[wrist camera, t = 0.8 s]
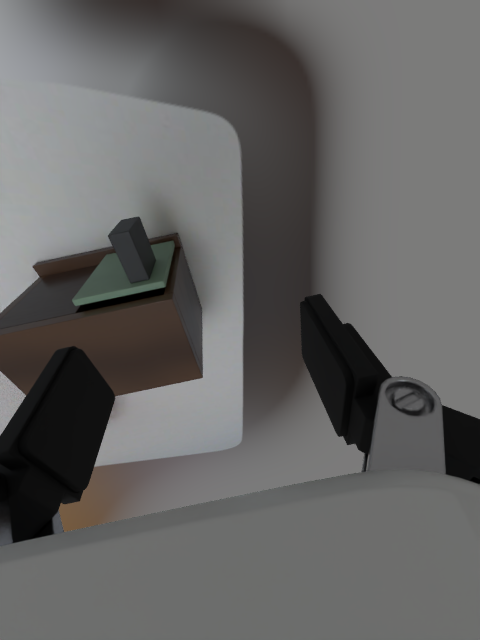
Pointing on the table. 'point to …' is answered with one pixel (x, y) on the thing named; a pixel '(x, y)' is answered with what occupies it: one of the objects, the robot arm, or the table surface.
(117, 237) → the sliding door
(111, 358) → the cupboard
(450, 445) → the robot arm
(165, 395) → the table surface
